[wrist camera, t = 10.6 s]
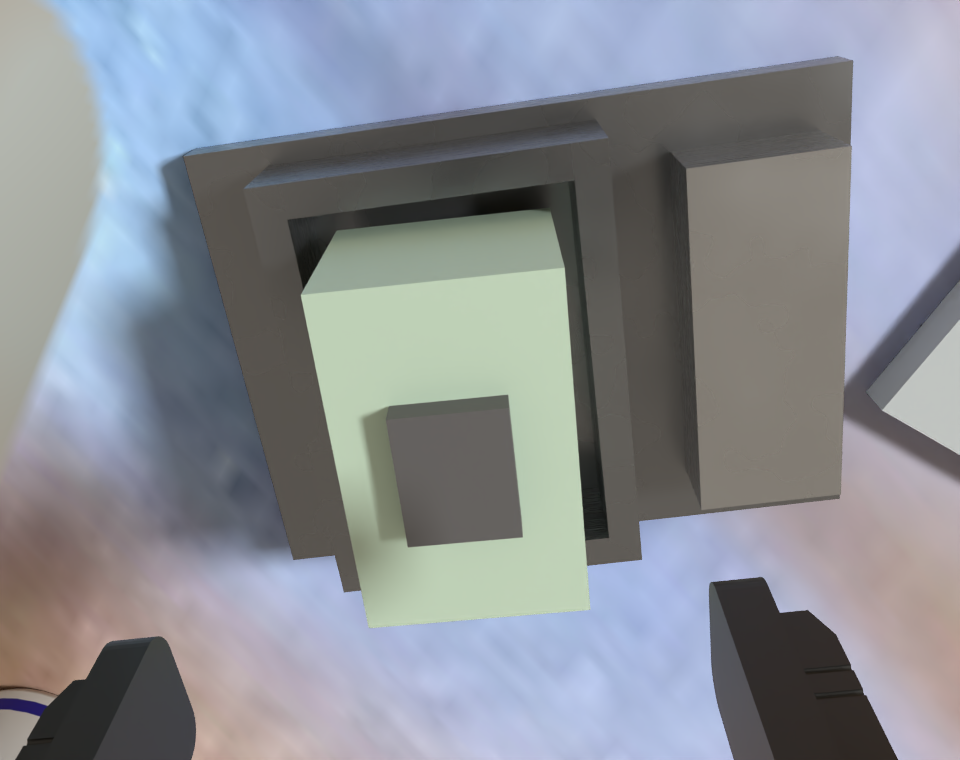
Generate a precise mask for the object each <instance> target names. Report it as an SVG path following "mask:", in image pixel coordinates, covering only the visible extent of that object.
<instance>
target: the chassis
mask: <svg viewBox="0 0 960 760" xmlns="http://www.w3.org/2000/svg"><path fill="white" fill-rule="evenodd" d="M852 77H853V60H849V59H846V58H842V57H838V56H837V57H830V58H823V59H816V60H809V61H802V62H795V63H788V64H781V65H774V66H767V67H760V68H753V69H746V70H739V71H732V72H725V73H718V74H711V75H704V76H697V77H690V78H684V79H677V80H670V81H663V82H656V83H649V84H642V85H635V86H628V87H621V88H614V89H607V90H600V91H593V92H586V93H579V94H572V95H565V96H558V97H551V98H544V99H537V100H530V101H523V102H516V103H509V104H502V105H495V106H488V107H481V108H474V109H468V110H461V111H454V112H447V113H440V114H433V115H426V116H419V117H412V118H405V119H398V120H391V121H384V122H377V123H370V124H363V125H356V126H349V127H342V128H335V129H328V130H321V131H314V132H307V133H300V134H293V135H286V136H279V137H272V138H265V139H258V140H251V141H245V142H238V143H231V144H224V145H217V146H210V147H203V148H196V149H194V150H192V151H191V152H189V153H188V154H186V155H184V156H183V158H184V162H185V165H186V169H187V173H188V176H189V180H190V183H191V187H192V191H193V194H194V198H195V202H196V205H197V209H198V213H199V216H200V220H201V224H202V227H203V231H204V235H205V238H206V242H207V245H208V249H209V253H210V256H211V260H212V264H213V267H214V271H215V275H216V278H217V282H218V286H219V289H220V293H221V297H222V300H223V304H224V307H225V311H226V315H227V318H228V322H229V326H230V329H231V333H232V337H233V340H234V344H235V348H236V351H237V355H238V359H239V362H240V366H241V370H242V373H243V377H244V380H245V384H246V388H247V391H248V395H249V399H250V402H251V406H252V410H253V413H254V417H255V421H256V424H257V428H258V432H259V435H260V439H261V442H262V446H263V450H264V453H265V457H266V461H267V464H268V468H269V472H270V475H271V479H272V483H273V486H274V490H275V494H276V497H277V501H278V504H279V508H280V512H281V515H282V519H283V523H284V526H285V530H286V534H287V537H288V541H289V545H290V548H291V552H292V556H293V559H294V560H296V559H305V558H314V557H323V556H332V555H335V558H336V562H337V566H338V570H339V574H340V578H341V582H342V586H343V590H344V592H351V591H360V590H361V587H360V582H359V577H358V572H357V568H356V563H355V558H354V553H353V548H352V543H351V538H350V533H349V528H348V524H347V519H346V514H345V509H344V504H343V499H342V494H341V489H340V484H339V480H338V475H337V470H336V465H335V460H334V455H333V450H332V445H331V440H330V436H329V431H328V426H327V421H326V416H325V411H324V406H323V401H322V396H321V392H320V387H319V382H318V377H317V372H316V367H315V362H314V357H313V352H312V348H311V343H310V338H309V333H308V328H307V323H306V318H305V313H304V308H303V304H302V299H301V294H302V292H303V290H304V288H305V286H306V285H307V283H308V281H309V279H310V278H311V276H312V274H313V272H314V270H315V269H316V267H317V265H318V263H319V261H320V260H321V258H322V256H323V254H324V252H325V251H326V249H327V247H328V245H329V243H330V242H331V240H332V238H333V236H334V234H335V233H336V231H337V230H346V229H356V228H365V227H374V226H384V225H393V224H402V223H412V222H421V221H430V220H440V219H449V218H458V217H468V216H477V215H487V214H496V213H505V212H515V211H524V210H533V209H543V208H550V211H551V215H552V219H553V223H554V227H555V231H556V235H557V239H558V243H559V247H560V251H561V255H562V259H563V263H564V267H565V279H566V292H567V306H568V319H569V332H570V346H571V359H572V373H573V386H574V399H575V413H576V426H577V440H578V453H579V466H580V480H581V493H582V506H583V520H584V533H585V547H586V560H587V566H589V565H598V564H607V563H616V562H625V561H634V560H642V554H641V542H640V529H639V521H644V520H653V519H662V518H671V517H680V516H689V515H698V514H706V513H715V512H724V511H733V510H742V509H751V508H760V507H769V506H778V505H787V504H796V503H805V502H813V501H822V500H831V499H840V494H841V470H842V438H843V406H844V374H845V342H846V310H847V278H848V246H849V214H850V182H851V150H852V146H850V142H851V110H852Z"/></svg>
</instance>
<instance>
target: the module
mask: <svg viewBox="0 0 960 760" xmlns="http://www.w3.org/2000/svg"><path fill="white" fill-rule="evenodd" d="M301 299H302V304H303V308H304V313H305V318H306V323H307V328H308V333H309V338H310V343H311V348H312V352H313V357H314V362H315V367H316V372H317V377H318V382H319V387H320V392H321V396H322V401H323V406H324V411H325V416H326V421H327V426H328V431H329V436H330V440H331V445H332V450H333V455H334V460H335V465H336V470H337V475H338V480H339V484H340V489H341V494H342V499H343V504H344V509H345V514H346V519H347V524H348V528H349V533H350V538H351V543H352V548H353V553H354V558H355V563H356V568H357V572H358V577H359V582H360V587H361V592H362V597H363V602H364V607H365V612H366V616H367V621H368V626H369V628H377V627H389V626H401V625H413V624H425V623H437V622H449V621H461V620H473V619H485V618H497V617H509V616H521V615H533V614H545V613H557V612H569V611H581V610H590V600H589V587H588V573H587V560H586V547H585V533H584V520H583V506H582V493H581V480H580V466H579V453H578V440H577V426H576V413H575V399H574V386H573V373H572V359H571V346H570V332H569V319H568V306H567V292H566V279H565V267H564V263H563V259H562V255H561V251H560V247H559V243H558V239H557V235H556V231H555V227H554V223H553V219H552V215H551V211H550V208H543V209H533V210H524V211H515V212H505V213H496V214H487V215H477V216H468V217H458V218H449V219H440V220H430V221H421V222H412V223H402V224H393V225H384V226H374V227H365V228H356V229H346V230H337V231H336V233H335V234H334V236H333V238H332V240H331V242H330V243H329V245H328V247H327V249H326V251H325V252H324V254H323V256H322V258H321V260H320V261H319V263H318V265H317V267H316V269H315V270H314V272H313V274H312V276H311V278H310V279H309V281H308V283H307V285H306V286H305V288H304V290H303V292H302V294H301Z"/></svg>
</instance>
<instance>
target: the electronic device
mask: <svg viewBox="0 0 960 760" xmlns="http://www.w3.org/2000/svg"><path fill="white" fill-rule="evenodd" d="M866 393H867V394H868V395H869V396H870V397H871V398H872V400H873V401H874V402H875V403H876V404H877V405H878V406H879V408H880V409H881V410H882V411H884V412H886V413H887V414H889V415H891V416H893V417H894V418H896V419H898V420H900V421H901V422H903V423H905V424H906V425H908V426H910V427H912V428H913V429H915V430H917V431H919V432H920V433H922V434H924V435H926V436H927V437H929V438H931V439H933V440H934V441H936V442H938V443H940V444H941V445H943V446H945V447H947V448H948V449H950V450H952V451H953V452H955V453H957V454H959V455H960V280H959V281H958V283H957V284H956V285H955V286H954V287H953V289H952V290H951V291H950V292H949V293H948V295H947V296H946V297H945V298H944V299H943V301H942V302H941V303H940V304H939V305H938V307H937V308H936V309H935V310H934V311H933V312H932V314H931V315H930V316H929V317H928V318H927V320H926V321H925V322H924V323H923V324H922V326H921V327H920V328H919V329H918V330H917V332H916V333H915V334H914V335H913V336H912V338H911V339H910V340H909V341H908V342H907V344H906V345H905V346H904V347H903V348H902V350H901V351H900V352H899V353H898V354H897V355H896V357H895V358H894V359H893V360H892V361H891V363H890V364H889V365H888V366H887V367H886V369H885V370H884V371H883V372H882V373H881V375H880V376H879V377H878V378H877V379H876V381H875V382H874V383H873V384H872V385H871V387H870V388H869V389H868V390H867V391H866Z"/></svg>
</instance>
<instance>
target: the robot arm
mask: <svg viewBox="0 0 960 760" xmlns="http://www.w3.org/2000/svg"><path fill="white" fill-rule="evenodd" d="M709 609H710V638H711V665H712V675H713V682H714V688H715V694H716V699H717V703H718V707H719V711H720V714H721V718H722V721H723V724H724V728H725V731H726V735H727V738H728V741H729V745H730V748H731V752H732V755H733V758H734V760H898V759H897V757H896V755H895V753H894V751H893V749H892V747H891V745H890V743H889V741H888V739H887V737H886V735H885V733H884V731H883V729H882V727H881V725H880V723H879V720H878V718H877V716H876V714H875V712H874V710H873V708H872V706H871V704H870V702H869V700H868V698H867V696H866V695H864V693H863V688H862V686H861V684H860V682H859V680H858V678H857V676H856V674H855V672H854V670H852V669H851V664H850V662H849V660H848V658H847V656H846V654H845V652H844V650H843V648H842V646H841V644H840V642H839V640H838V638H837V636H836V634H835V633H833V632H832V631H831V630H830V629H829V628H828V627H827V626H825V625H824V624H823V623H822V622H821V621H820V620H818V619H817V618H816V617H815V616H814V615H813V614H812V613H810V612H809V611H808V610H805V611H795V612H785V613H779V610H778V608H777V606H776V603H775V601H774V599H773V596H772V594H771V592H770V589H769V587H768V585H767V583H766V581H765V579H764V578H762V577H758V578H748V579H738V580H729V581H719V582H711V583H710V585H709ZM195 738H196V724H195V717H194V712H193V709H192V706H191V703H190V701H189V698H188V695H187V692H186V690H185V687H184V684H183V682H182V679H181V676H180V674H179V671H178V668H177V665H176V663H175V660H174V657H173V655H172V652H171V649H170V647H169V644H168V643H167V641H166V640H165V639H164V638H162V637H159V636H158V637H148V638H138V639H129V640H119V641H111V642H109V643H107V644H106V645H105V646H104V648H103V649H102V651H101V653H100V655H99V657H98V658H97V660H96V662H95V664H94V666H93V667H92V669H91V671H90V673H89V675H88V677H87V678H86V679H85V680H75V681H73V682H72V683H71V684H70V685H69V686H68V687H67V688H66V689H65V690H64V691H63V692H62V693H61V694H60V695H59V696H58V697H56V698H55V699H54V700H53V701H52V702H51V703H50V704H49V705H48V706H47V707H46V708H45V709H44V711H43V713H42V714H41V716H40V718H39V720H38V721H37V723H36V725H35V726H34V728H33V730H32V732H31V733H30V735H29V737H28V738H27V745H26V746H23V747H22V749H21V751H20V752H19V754H18V756H17V757H16V759H15V760H191V758H192V755H193V751H194V747H195Z"/></svg>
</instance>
